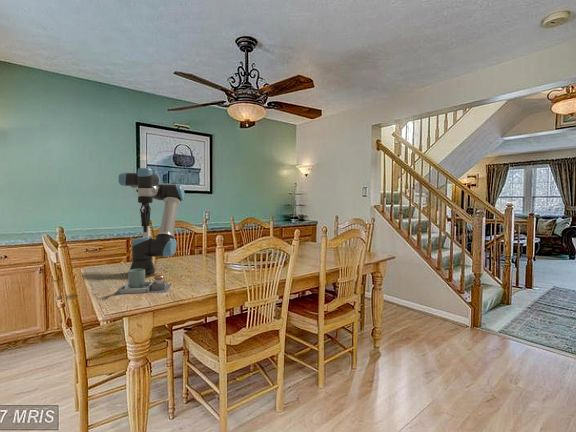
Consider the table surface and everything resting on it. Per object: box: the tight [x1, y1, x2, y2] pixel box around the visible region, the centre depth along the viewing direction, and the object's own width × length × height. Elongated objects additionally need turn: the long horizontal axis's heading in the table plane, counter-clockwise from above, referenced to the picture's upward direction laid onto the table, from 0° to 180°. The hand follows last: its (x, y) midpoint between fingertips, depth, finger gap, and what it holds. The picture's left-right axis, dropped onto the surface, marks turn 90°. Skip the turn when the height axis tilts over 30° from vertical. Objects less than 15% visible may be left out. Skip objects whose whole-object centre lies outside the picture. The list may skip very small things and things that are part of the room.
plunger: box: [153, 274, 165, 284], centre depth 167 cm, size 5×5×6 cm
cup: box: [127, 269, 146, 289], centre depth 164 cm, size 8×8×10 cm
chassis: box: [117, 280, 173, 295], centre depth 166 cm, size 16×23×5 cm
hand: (146, 237), depth 179 cm, fingers closed
